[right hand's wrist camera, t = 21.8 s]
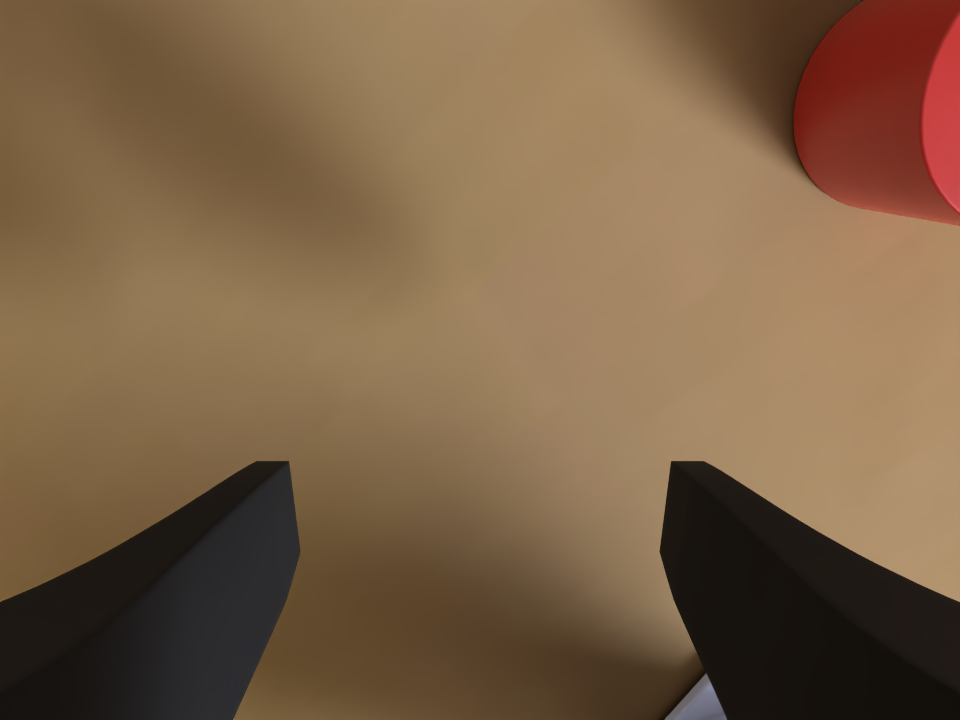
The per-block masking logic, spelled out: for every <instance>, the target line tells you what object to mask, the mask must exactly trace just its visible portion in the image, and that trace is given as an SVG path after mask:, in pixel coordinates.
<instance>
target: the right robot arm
mask: <svg viewBox="0 0 960 720" xmlns="http://www.w3.org/2000/svg"><path fill="white" fill-rule="evenodd" d="M660 554H661V558H662V561H663V565H664V569H665V572H666V576H667V579H668V582H669V586H670V589H671V592H672V595H673V599H674V601H675V604H676V606H677V608H678V611H679V613H680V615H681V618H682V620H683V622H684V624H685V627H686V629H687V631H688V633H689V636H690V638H691V640H692V642H693V645H694V647H695V649H696V651H697V654H698V656H699V658H700V660H701V662H702V665H703V667H704V669H705V671H706V674H705V675H704V676H703V677H702V678H701V680H700V681H699V682H698V683H697V684H696V685H695V686H694V687H693V688H692V690H691V691H690V692H689V693H688V694H687V695H686V696H685V697H684V698H683V700H682V701H681V702H680V703H679V704H678V705H677V706H676V707H675V708H674V710H673V711H672V712H671V713H670V714H669V715H668V716H667V717H666V718H665V720H960V602H958V601H956V600H953V599H951V598H948V597H946V596H944V595H942V594H939V593H937V592H935V591H933V590H930V589H928V588H926V587H924V586H921V585H919V584H917V583H915V582H913V581H911V580H909V579H907V578H905V577H903V576H901V575H899V574H897V573H894V572H892V571H890V570H888V569H886V568H884V567H882V566H880V565H878V564H876V563H874V562H872V561H870V560H868V559H866V558H864V557H862V556H861V555H859V554H857V553H855V552H853V551H851V550H849V549H848V548H846V547H844V546H842V545H841V544H839V543H837V542H835V541H834V540H832V539H830V538H828V537H826V536H825V535H823V534H821V533H819V532H818V531H816V530H814V529H813V528H811V527H809V526H808V525H806V524H804V523H803V522H801V521H799V520H798V519H796V518H794V517H793V516H791V515H790V514H788V513H786V512H785V511H783V510H782V509H780V508H778V507H777V506H775V505H774V504H772V503H771V502H769V501H767V500H766V499H764V498H763V497H761V496H760V495H758V494H757V493H755V492H753V491H752V490H750V489H749V488H747V487H746V486H744V485H743V484H741V483H740V482H738V481H736V480H735V479H733V478H732V477H730V476H729V475H727V474H725V473H724V472H722V471H720V470H719V469H717V468H715V467H714V466H712V465H710V464H708V463H706V462H704V461H671V467H670V475H669V482H668V490H667V498H666V506H665V514H664V522H663V529H662V537H661V545H660ZM299 555H300V545H299V537H298V529H297V521H296V513H295V505H294V498H293V490H292V482H291V474H290V466H289V461H256V462H254V463H252V464H250V465H248V466H247V467H245V468H243V469H242V470H240V471H238V472H237V473H235V474H233V475H232V476H230V477H229V478H227V479H226V480H224V481H222V482H221V483H219V484H218V485H216V486H215V487H213V488H212V489H210V490H209V491H207V492H205V493H204V494H202V495H201V496H199V497H198V498H196V499H195V500H193V501H191V502H190V503H188V504H187V505H185V506H184V507H182V508H180V509H179V510H177V511H176V512H174V513H173V514H171V515H169V516H168V517H166V518H164V519H163V520H161V521H159V522H158V523H156V524H154V525H152V526H151V527H149V528H147V529H146V530H144V531H142V532H141V533H139V534H137V535H135V536H134V537H132V538H130V539H129V540H127V541H125V542H124V543H122V544H120V545H118V546H117V547H115V548H113V549H111V550H109V551H108V552H106V553H104V554H102V555H100V556H98V557H96V558H94V559H92V560H91V561H89V562H87V563H85V564H83V565H81V566H79V567H77V568H75V569H73V570H70V571H68V572H66V573H64V574H62V575H60V576H58V577H56V578H54V579H52V580H50V581H48V582H46V583H44V584H41V585H39V586H37V587H35V588H32V589H30V590H28V591H25V592H23V593H21V594H18V595H16V596H14V597H11V598H9V599H6V600H4V601H2V602H0V720H233V718H234V716H235V714H236V711H237V709H238V707H239V705H240V703H241V700H242V698H243V696H244V694H245V691H246V689H247V687H248V685H249V683H250V680H251V678H252V676H253V674H254V671H255V669H256V667H257V665H258V663H259V660H260V658H261V656H262V654H263V652H264V649H265V647H266V645H267V643H268V640H269V638H270V636H271V634H272V631H273V629H274V627H275V625H276V622H277V620H278V618H279V615H280V613H281V611H282V609H283V606H284V604H285V602H286V599H287V596H288V592H289V589H290V586H291V583H292V579H293V576H294V572H295V569H296V565H297V562H298V558H299Z"/></svg>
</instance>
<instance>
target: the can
mask: <svg viewBox="0 0 960 720" xmlns="http://www.w3.org/2000/svg"><path fill="white" fill-rule="evenodd" d="M794 136H795V143H796V147H797V151H798V155H799V157H800V160H801V162H802V164H803V167H804V168H805V170H806V172H807V173H808V175H809V176H810V178H811V179H812V180H813V182H814V183H815V184H816V185H817V186H818V187H819V188H820V189H821V190H822V191H824V192H825V193H826V194H827V195H829V196H830V197H832V198H834V199H835V200H837V201H839V202H841V203H844V204H846V205H849V206H853V207H857V208H861V209H867V210H873V211H878V212H884V213H890V214H895V215H901V216H907V217H912V218H918V219H924V220H929V221H935V222H941V223H946V224H952V225H958V226H960V0H864V1H863V2H861V3H860V4H858V5H857V6H855V7H854V8H853V9H852V10H850V11H849V12H848V13H847V14H845V15H844V16H843V17H842V18H841V19H840V20H839V21H838V22H837V23H836V24H835V25H834V26H833V27H832V28H831V30H830V31H829V32H828V33H827V35H826V36H825V37H824V38H823V40H822V41H821V42H820V44H819V45H818V47H817V49H816V50H815V52H814V53H813V55H812V57H811V59H810V61H809V63H808V65H807V67H806V69H805V71H804V74H803V76H802V79H801V82H800V84H799V88H798V92H797V96H796V100H795V108H794Z"/></svg>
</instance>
